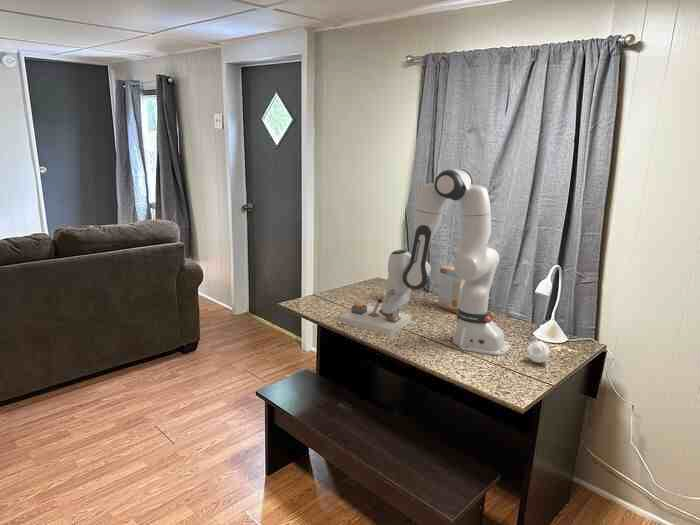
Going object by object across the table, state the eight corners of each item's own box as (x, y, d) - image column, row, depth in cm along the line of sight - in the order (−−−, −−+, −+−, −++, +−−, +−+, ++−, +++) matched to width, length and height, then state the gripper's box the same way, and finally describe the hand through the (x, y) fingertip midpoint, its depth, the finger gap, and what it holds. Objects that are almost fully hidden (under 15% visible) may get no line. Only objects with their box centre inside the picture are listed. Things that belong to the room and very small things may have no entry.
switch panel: (410, 321, 219) (411, 309, 217) (390, 336, 202) (391, 322, 201) (361, 310, 232) (361, 298, 230) (339, 322, 215) (339, 310, 214)
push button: (364, 307, 221) (364, 303, 220) (360, 309, 218) (360, 305, 217) (358, 305, 222) (358, 301, 222) (354, 307, 220) (354, 303, 219)
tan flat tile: (400, 319, 213) (401, 317, 212) (395, 322, 209) (396, 320, 208) (383, 308, 216) (384, 306, 216) (378, 311, 212) (379, 309, 212)
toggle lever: (376, 313, 217) (383, 299, 213) (374, 314, 215) (381, 301, 212) (372, 311, 218) (380, 297, 214) (370, 312, 216) (377, 298, 213)
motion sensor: (523, 361, 181) (525, 342, 180) (530, 355, 187) (532, 336, 185) (544, 368, 177) (547, 348, 175) (551, 361, 182) (554, 342, 180)
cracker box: (466, 312, 231) (470, 270, 226) (458, 315, 228) (461, 272, 223) (445, 304, 243) (448, 264, 237) (437, 306, 239) (440, 265, 234)
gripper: (392, 294, 197) (391, 326, 201) (413, 282, 214) (411, 311, 218) (379, 291, 200) (377, 322, 204) (400, 280, 217) (399, 308, 221)
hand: (395, 316), depth 211 cm, fingers closed, pressing on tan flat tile
